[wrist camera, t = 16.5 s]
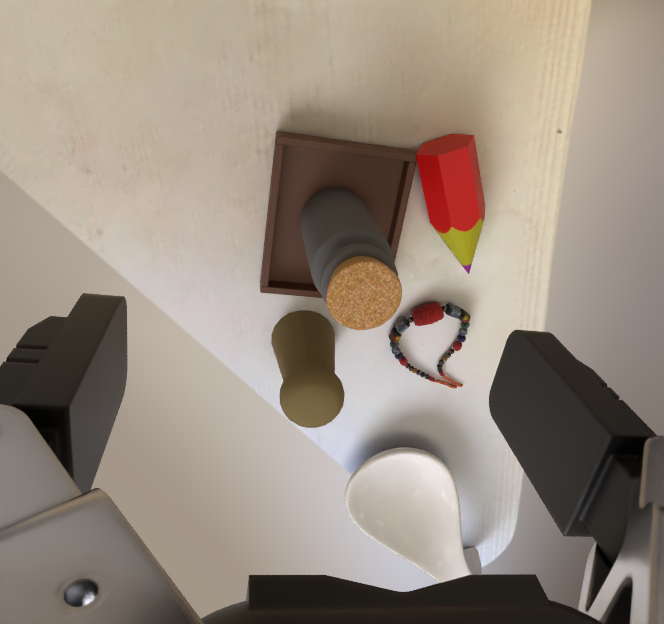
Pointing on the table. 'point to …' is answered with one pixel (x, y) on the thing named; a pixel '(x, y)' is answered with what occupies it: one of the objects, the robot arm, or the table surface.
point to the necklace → (424, 317)
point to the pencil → (453, 192)
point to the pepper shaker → (307, 369)
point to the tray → (319, 174)
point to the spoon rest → (412, 511)
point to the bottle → (350, 259)
